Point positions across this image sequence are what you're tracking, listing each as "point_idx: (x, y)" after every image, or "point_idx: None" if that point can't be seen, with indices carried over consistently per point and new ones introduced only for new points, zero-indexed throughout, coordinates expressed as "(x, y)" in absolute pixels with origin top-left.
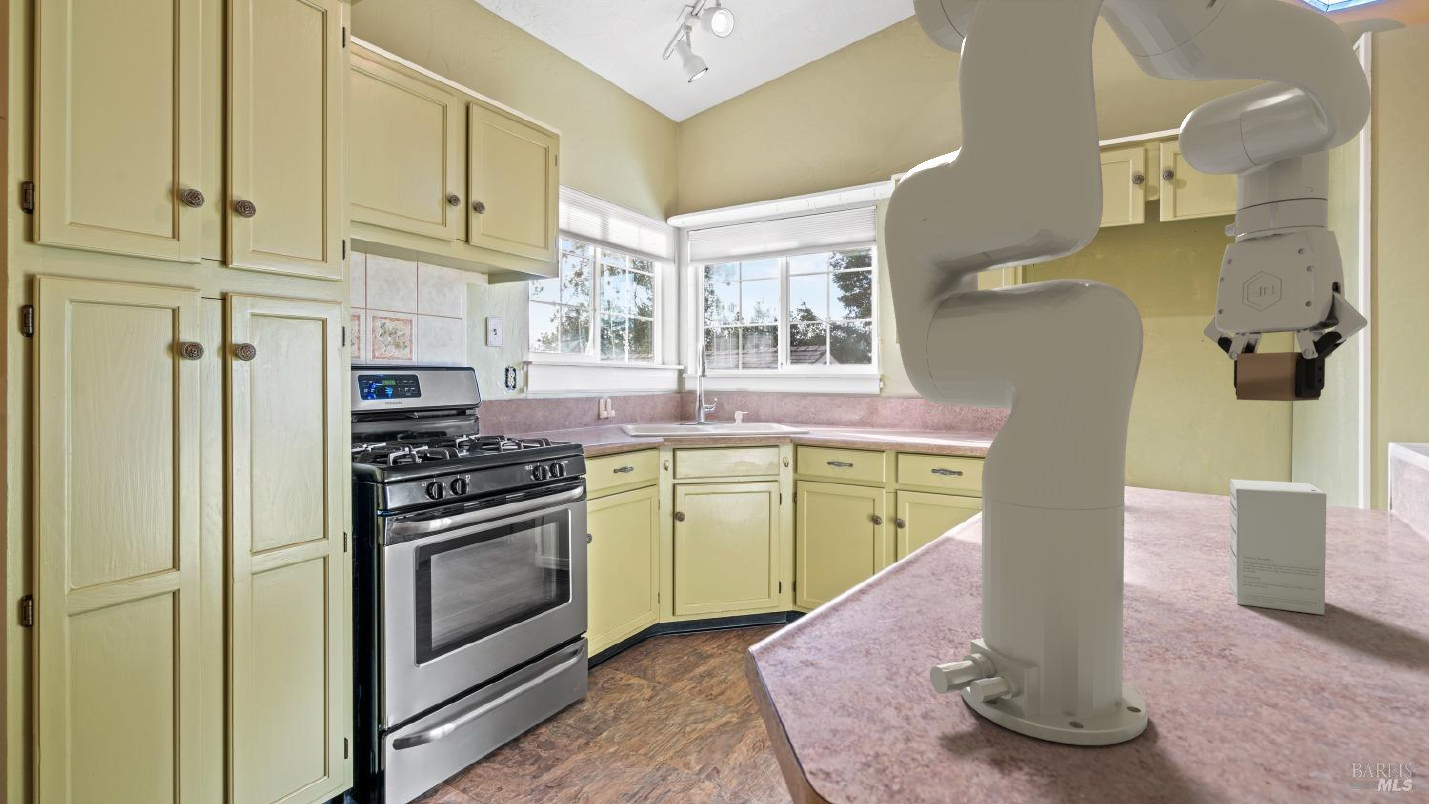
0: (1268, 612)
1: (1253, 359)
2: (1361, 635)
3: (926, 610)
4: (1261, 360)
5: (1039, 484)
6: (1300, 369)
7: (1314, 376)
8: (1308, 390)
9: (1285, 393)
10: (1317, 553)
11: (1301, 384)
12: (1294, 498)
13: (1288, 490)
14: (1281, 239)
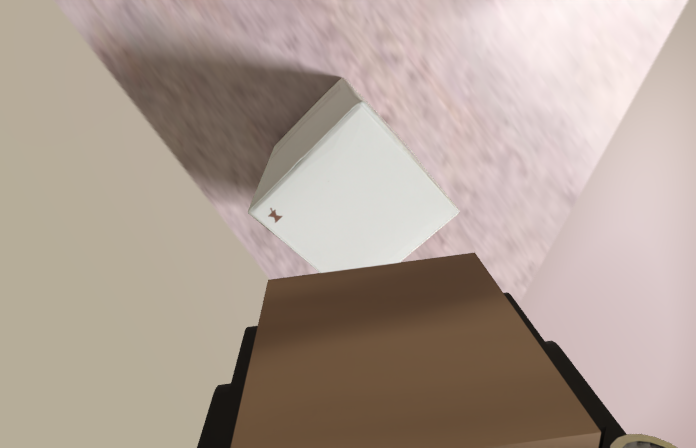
0: (304, 88)
1: (465, 409)
2: (205, 117)
3: None
4: (412, 409)
5: None
6: (228, 419)
7: (207, 424)
8: None
9: (280, 297)
10: (269, 165)
11: (239, 361)
12: (284, 171)
13: (295, 175)
14: None
